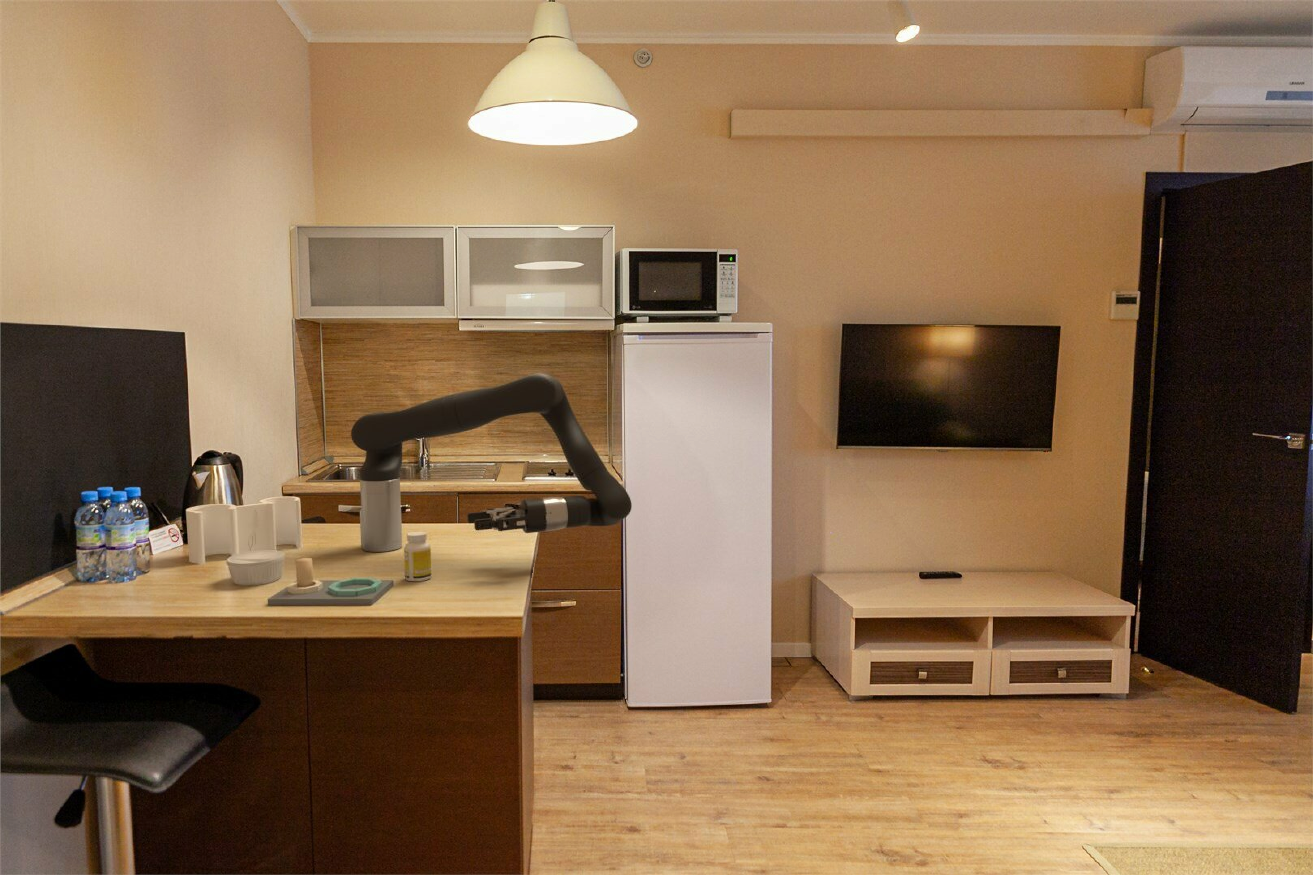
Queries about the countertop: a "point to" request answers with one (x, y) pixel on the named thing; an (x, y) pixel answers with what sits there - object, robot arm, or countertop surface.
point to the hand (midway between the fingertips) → (471, 521)
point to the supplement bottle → (417, 557)
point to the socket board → (329, 589)
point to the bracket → (243, 527)
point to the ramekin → (256, 567)
